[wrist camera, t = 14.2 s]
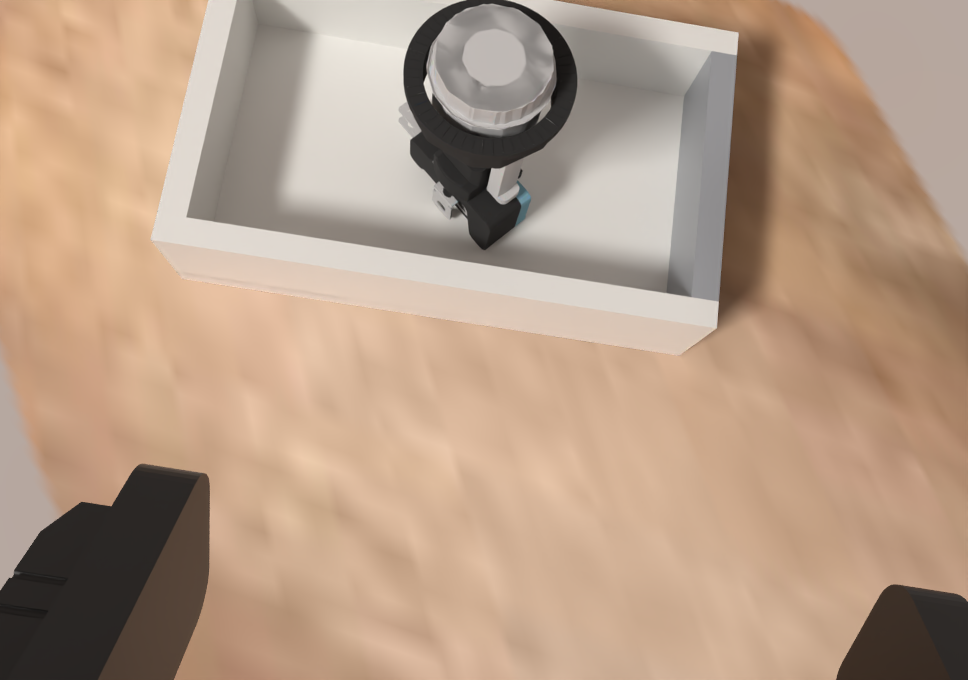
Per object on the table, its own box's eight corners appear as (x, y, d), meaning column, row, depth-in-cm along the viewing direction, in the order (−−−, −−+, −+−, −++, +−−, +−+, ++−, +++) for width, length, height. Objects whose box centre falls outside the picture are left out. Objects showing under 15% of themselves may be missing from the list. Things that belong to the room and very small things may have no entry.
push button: (354, 157, 36) (337, 9, 26) (456, 83, 37) (475, -84, 27) (461, 280, 35) (484, 175, 25) (562, 201, 36) (620, 72, 26)
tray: (701, 91, 39) (738, 32, 35) (678, 355, 36) (716, 328, 32) (243, 12, 38) (222, -58, 34) (182, 279, 35) (150, 239, 31)
